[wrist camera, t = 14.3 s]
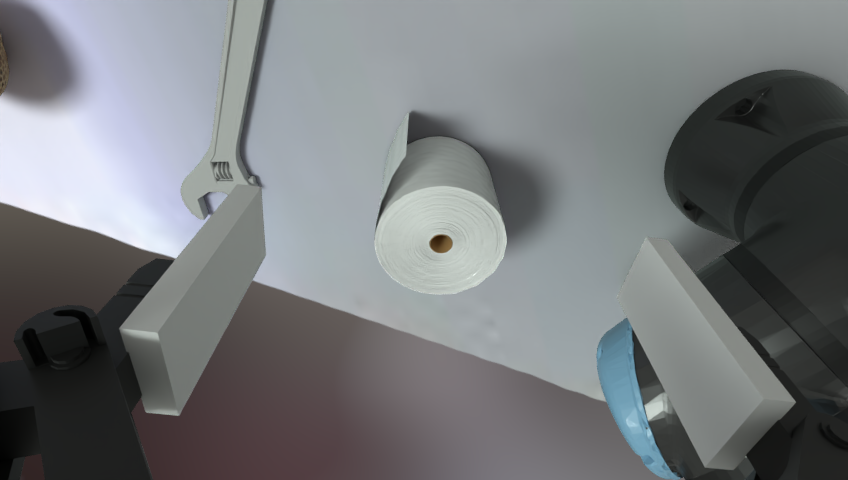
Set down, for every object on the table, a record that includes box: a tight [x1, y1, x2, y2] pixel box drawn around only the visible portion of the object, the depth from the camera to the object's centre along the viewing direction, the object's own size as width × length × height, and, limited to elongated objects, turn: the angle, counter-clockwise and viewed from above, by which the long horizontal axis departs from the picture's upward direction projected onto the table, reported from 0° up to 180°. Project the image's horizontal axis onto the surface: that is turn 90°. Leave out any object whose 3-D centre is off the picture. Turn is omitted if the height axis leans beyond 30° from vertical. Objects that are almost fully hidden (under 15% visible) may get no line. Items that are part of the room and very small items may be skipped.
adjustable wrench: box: [181, 0, 268, 220], centre depth 39 cm, size 25×6×2 cm, turn 154°
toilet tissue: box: [375, 112, 507, 295], centre depth 40 cm, size 11×12×10 cm
